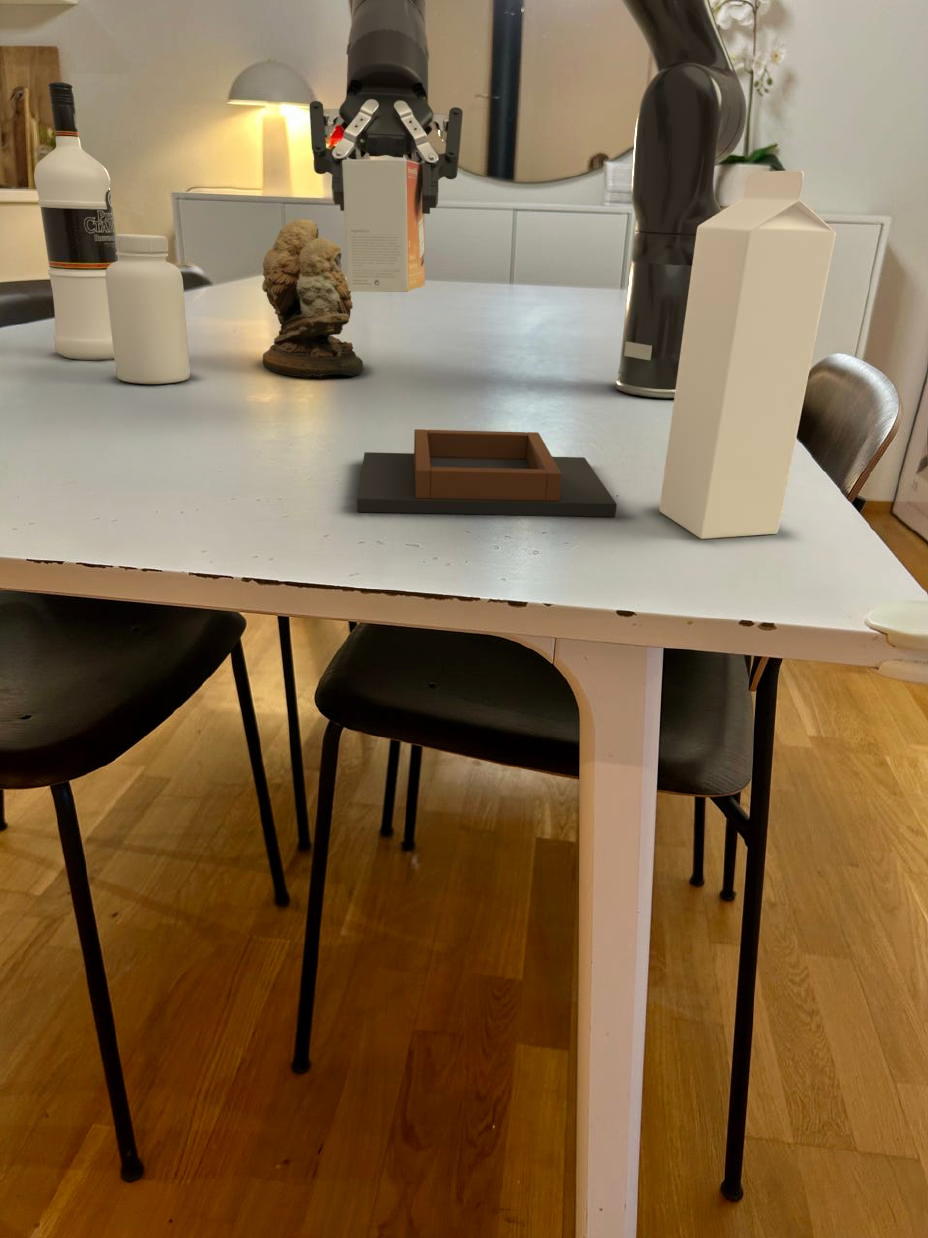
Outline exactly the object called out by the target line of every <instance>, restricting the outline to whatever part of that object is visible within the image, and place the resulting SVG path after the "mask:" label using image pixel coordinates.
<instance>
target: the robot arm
mask: <svg viewBox="0 0 928 1238" xmlns="http://www.w3.org/2000/svg"><path fill="white" fill-rule="evenodd" d="M621 1H622V3H623V5H624V6H625V8H626V10H627V11H628V13H629V14H630V16H631V17H632V19H633V21H634V22H635V24H636V25H637V27H638V29H639V31H640V32H641V34H642V36H643V38H644V40H645V42H646V44H647V46H648V49H649V52H650V54H651V57H652V60H653V63H654V67H655V70H656V75H654V76H653V77H652V79H651V80H650V82H649V83H648V85H647V87H646V88H645V90H644V93H643V95H642V97H641V101H640V103H639V107H638V112H637V117H636V124H635V130H634V131H635V132H634V146H633V148H634V149H633V157H632V174H631V190H630V191H631V193H630V195H631V202H632V208H633V211H634V232H633V239H632V250H631V259H630V267H629V276H628V287H627V294H626V304H625V311H624V312H625V314H624V322H623V331H622V339H621V347H620V357H619V367H618V373H617V374H618V376H617V379H616V389H617V390H619V391H620V392H623V393H625V394H629V395H634V396H639V397H640V396H641V397H647V398H655V399H656V398H657V399H658V398H659V399H674V397H675V390H676V382H677V375H678V368H679V360H680V353H681V345H682V338H683V331H684V323H685V316H686V308H687V301H688V294H689V286H690V279H691V271H692V264H693V257H694V249H695V242H696V234H697V228H698V226H699V225H700V224H702V223H704V222H705V221H707V220H708V219H710V218H712V217H713V216H715V215H716V214H718V213H720V212H721V211H722V208H721V207H720V204H719V203H718V200H717V198H716V195H715V189H714V180H715V179H714V178H715V177H714V176H715V167H716V165H717V164H720V163H721V162H723V161H725V160H726V159H728V157H729V156H731V154H733V152H734V151H735V150H736V148H737V147H738V146H739V144H740V142H741V139H742V137H743V134H744V133H745V132H744V131H745V127H746V123H747V114H748V113H747V112H748V111H747V100H746V97H745V93H744V90H743V87H742V84H741V82H740V79H739V76H738V74H737V72H736V70H735V67H734V64H733V62H732V59H731V57H730V55H729V52H728V50H727V47H726V44H725V42H724V40H723V37H722V35H721V32H720V29H719V27H718V24H717V21H716V19H715V16H714V15H715V14H714V12H713V9H712V6H711V1H710V0H621ZM351 5H352V6H351V26H350V30H349V35H348V42H347V45H346V51H345V52H346V53H345V54H346V59H347V60H346V80H345V81H346V83H345V99H344V101H343V102H342V103H341V105H340V107H339V108H324V104H323V103H322V102H321V101H319V100H313V101H311V102H310V103H309V105H308V106H309V122H310V123H309V124H310V126H309V127H310V142H311V144H310V145H311V152H312V160H313V170H314V171H313V172H314V173H316V174H318V175H324V174H326V173H328V174H331V195H332V201H333V204H334V205H339V209H340V212H344V189H343V166H342V161H343V160H366V159H367V157H368V156H369V157H374V158H375V157H384V156H388V157H391V158H399V159H401V158H402V159H404V158H405V160H409V161H413V162H417V163H422V164H423V171H422V214H424V215H430V214H431V209H436V208H437V206H438V204H439V181H440V179H442V178H446V179H447V180H455V179H456V178H457V177H458V171H459V170H458V169H459V160H460V151H461V149H460V148H461V141H462V140H461V139H462V127H463V117H464V115H463V114H464V113H463V109H462V108H460V107H457V106H455V107H451V108H450V109H449V111H448V114H443V113H434V111H433V109H432V107H431V106H430V104H429V60H430V51H429V43H428V37H427V32H426V20H427V19H426V13H427V12H426V9H427V8H426V0H352V4H351ZM338 126H340V127H341V129H342V130H343V131H344V132H343V135H342V138H341V140H340V141H338V143H337V145H336V146H335V147H334V148H333V149H332V148H331V149H330V148H328V147H327V139H331V137H332V136H331V135H332V134H333V133H334V131H335V128H336V127H338ZM433 130H434V131H436V132H437V133H438V137H439V138H440V139H441V140H442V141H441V143H442V144H445V150H444V152H443V153H440V154H438V153H437V152H436V150H435V148H434V147H433V146H432V145H431V143H430V141H429V135H430V134H431V133H432V131H433Z"/></svg>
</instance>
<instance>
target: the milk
mask: <svg viewBox="0 0 928 1238" xmlns="http://www.w3.org/2000/svg"><path fill="white" fill-rule="evenodd" d="M804 181H805V172H804V171H803V170H766V171H748V172H747V173H746V175H745V178H744V184H743V189H742V195H741V198H740V199H739V200H737V201H736V202H734V203H732V204H731V205H729V206H728V207H725V208H724V209H723V210H721V212H720V213H718V214H716V215H715V216H713V217H712V218H710V219H708V220H707V221H705V222H704V223H702V224H700V225H699V226H698V228H697V234H696V242H695V249H694V257H693V264H692V271H691V279H690V286H689V294H688V301H687V308H686V316H685V323H684V331H683V338H682V345H681V353H680V360H679V368H678V375H677V382H676V390H675V397H674V398H673V406H672V413H671V419H670V421H671V422H670V427H669V436H668V443H667V450H666V458H665V465H664V470H663V471H664V472H663V479H662V487H661V493H660V494H661V495H660V501H659V509H658V511H659V512H660V513H661V514H663V515H664V516H666V517H667V518H669V519H670V520H672V521H674V522H675V523H676V524H677V525H678V526H681V527H682V528H684V529H685V530H687V531H688V532H690V533H691V534H693V535H694V536H696V537H697V538H699V539H701V540H705V539H721V538H733V537H747V536H749V537H750V536H759V535H760V536H761V535H776V534H778V532H779V528H780V525H781V524H780V523H781V518H782V512H783V509H784V503H785V498H786V492H787V487H788V482H789V477H790V472H791V467H792V462H793V458H794V451H795V446H796V441H797V436H798V431H799V428H800V427H799V426H800V422H801V416H802V410H803V405H804V400H805V395H806V391H807V385H808V380H809V374H810V369H811V364H812V360H813V355H814V350H815V344H816V340H817V334H818V329H819V323H820V319H821V314H822V308H823V303H824V299H825V294H826V293H825V292H826V288H827V282H828V279H829V278H828V277H829V273H830V267H831V264H832V263H831V262H832V256H833V253H834V247H835V242H836V237H837V233H836V231H835V230H833V228H831V226H829V224H827V223H826V222H825V221H824V220H823V219H822V218H820V216H818V214H817V213H816V212H815V211H813V210H812V209H811V208H810V207H809V206H808V205H807V204H806V203H805V202H804V201H802V199H801V197H802V192H803V188H804V187H803V186H804Z"/></svg>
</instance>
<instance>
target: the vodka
mask: <svg viewBox="0 0 928 1238" xmlns="http://www.w3.org/2000/svg"><path fill="white" fill-rule="evenodd" d="M47 86H48V93H49V100H50V106H51V114H52V122H53V129H54V136H55V148H54V149H53V150H52V151H50V152H49V153H48V154H47V155H45V156H44V157H43V158H42V159H40V160H39V161H38V162H37V164H36V166H35V167H34V173H33V180H34V184H35V189H36V192H37V196H38V199H37V203H38V205H39V206H40V212H41V213H40V214H41V219H42V220H41V221H42V227H43V232H44V233H43V234H44V241H45V249H46V255H47V260H48V267H49V269H48V271H47V275H48V276H49V280H50V287H51V291H52V298H53V308H54V334H53V342H54V348H55V350H56V352H57V354H59V355H60V356H61V357H63V358H65V359H70V360H77V361H78V360H80V361H106V360H115V359H114V350H113V341H112V332H111V323H110V314H109V305H108V296H107V287H106V277H105V275H106V270H107V268H108V266H109V265H110V264H112V263H114V262H116V261H119V255H116V252H118V249H116V243H115V235H116V229H115V219H114V211H113V203H112V202H113V201H112V195H111V178H110V175H109V172H108V170H107V169H106V168H105V166H104V165H103V164H101V162H99V161H98V160H96V158H94V157H93V156H91V155H90V154H89V153H87V152H86V151H85V150H84V149H83V148H82V146H81V140H80V137H79V129H78V121H77V113H76V112H77V111H76V107H75V103H76V102H75V96H74V90H73V88H74V87H73V85H72V84H70V83H67V82H63V81H53V82H49V83H48V84H47Z"/></svg>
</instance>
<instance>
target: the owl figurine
mask: <svg viewBox="0 0 928 1238" xmlns="http://www.w3.org/2000/svg"><path fill="white" fill-rule="evenodd" d="M319 233H320V232H319V228H318V224H317V223H316V222H315V221H313V220H311V219H309V218H300V219H294V220H292V221H291V222H289V223H286V225H284V226H283V227H282V228H281V229H280V230H279V231H278V234H277V236H276V239H275V241H274V243H273V245H272V248H270V249H268V250H267V252H266V253H265V256H264V258H263V262H262V267H263V271H262V276H263V277H264V280H263V282H262V285H261V286H262V287H261V288H262V291H263V292H264V293H266V298H267V300H268V302H269V305H271V306H272V307H273V309H274V315H276V316H277V320H278V323H279V325H280V329H279V331H278V335H277V336H276V337H274V339H273V340H274V341H273V344H272V345H270V347H269V349H268V350H267V351H265V352H264V353H263V354H262V366H264V368H265V369H268V370H269V371H272V372H273V373H276V374H281V375H286V376H291V377H299V378H300V377H301V378H308V377H310V376H314V378H317V377H318V378H321V377H322V376H328V375H329V376H330V375H331V376H332V375H343V376H349V377H353V376H354V377H355V376H359V375H361V373H362V372H363V370H364V361H363V360H362V358H360V357H359V356H358V355H357V354H356V353H355V351H354V346H353V343H352V342H348V341H341V340H340V339H339V338H337V337H335V336H337V335H340V334H341V333H342V331H343V330H344V329H343V328H344V326H345V325H347V324H348V323H350V318H351V315H352V313H351V311H352V309H353V308H354V306H353V301H352V294H351V292H352V291H349V290H348V284H347V277H346V276H345V274H344V273H343V272H342V252H341V250H342V249H341V247H339V245H337V244H336V243H335V242H333V241H332V240H329V239H327V238H325V237H320V236H319ZM334 335H335V336H334Z"/></svg>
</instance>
